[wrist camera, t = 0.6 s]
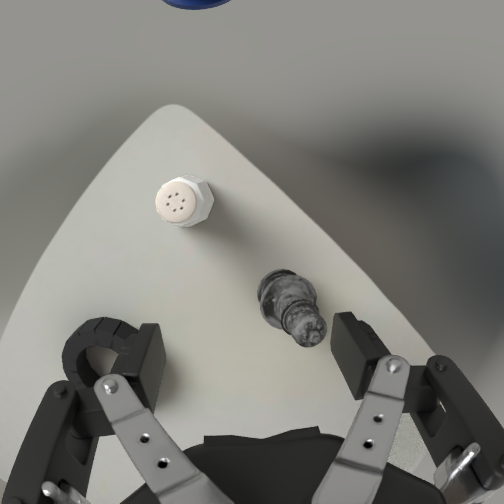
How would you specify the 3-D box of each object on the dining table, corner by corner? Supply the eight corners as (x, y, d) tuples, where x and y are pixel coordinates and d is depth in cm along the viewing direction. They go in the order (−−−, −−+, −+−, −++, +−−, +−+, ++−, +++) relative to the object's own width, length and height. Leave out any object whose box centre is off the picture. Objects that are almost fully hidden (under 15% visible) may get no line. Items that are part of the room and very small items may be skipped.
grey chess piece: (315, 292, 33) (365, 338, 21) (277, 326, 33) (309, 385, 21) (284, 255, 32) (326, 288, 20) (243, 291, 32) (263, 343, 20)
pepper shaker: (225, 199, 30) (234, 199, 19) (189, 237, 30) (178, 260, 19) (187, 163, 28) (174, 144, 18) (151, 202, 29) (120, 206, 18)
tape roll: (59, 324, 29) (47, 336, 26) (139, 309, 30) (132, 322, 27) (94, 398, 32) (87, 413, 28) (170, 390, 33) (167, 407, 29)
